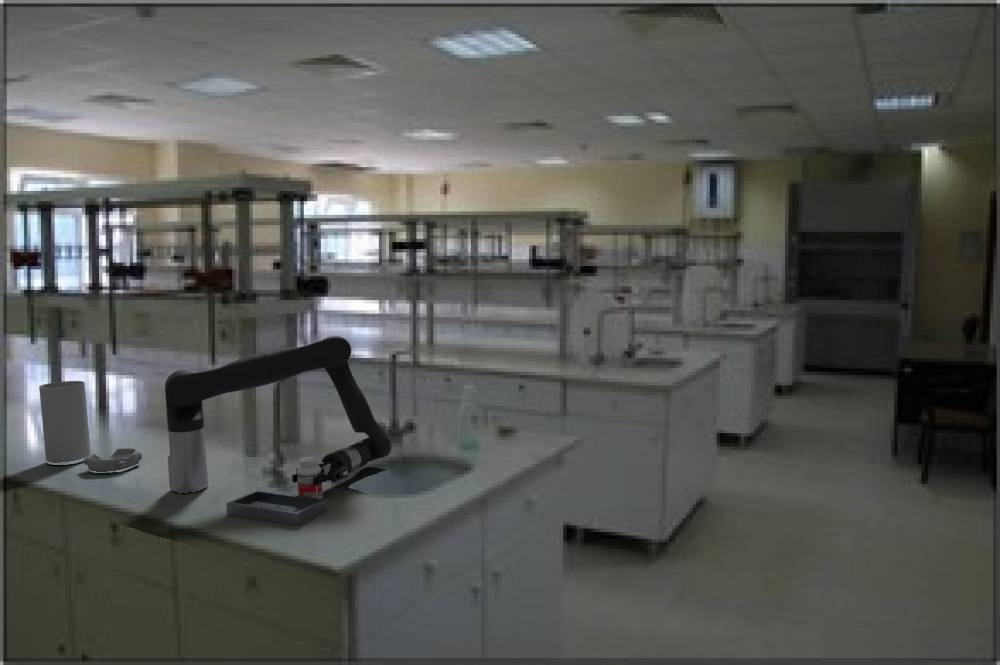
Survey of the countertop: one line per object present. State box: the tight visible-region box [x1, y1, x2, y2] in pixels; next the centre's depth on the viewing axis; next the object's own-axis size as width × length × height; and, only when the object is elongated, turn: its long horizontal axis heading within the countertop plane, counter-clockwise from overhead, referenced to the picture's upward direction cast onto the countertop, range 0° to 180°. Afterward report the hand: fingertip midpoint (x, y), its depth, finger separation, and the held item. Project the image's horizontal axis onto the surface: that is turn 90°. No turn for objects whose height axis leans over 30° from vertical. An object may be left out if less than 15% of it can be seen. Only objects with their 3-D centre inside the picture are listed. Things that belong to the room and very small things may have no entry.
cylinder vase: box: [38, 380, 92, 463], centre depth 237 cm, size 12×12×25 cm
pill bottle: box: [297, 456, 324, 499], centre depth 196 cm, size 6×6×11 cm
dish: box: [83, 447, 143, 472], centre depth 229 cm, size 14×14×5 cm
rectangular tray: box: [225, 489, 327, 527], centre depth 187 cm, size 22×11×3 cm, turn 67°
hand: (303, 480), depth 194 cm, fingers closed on pill bottle, 6 cm apart
